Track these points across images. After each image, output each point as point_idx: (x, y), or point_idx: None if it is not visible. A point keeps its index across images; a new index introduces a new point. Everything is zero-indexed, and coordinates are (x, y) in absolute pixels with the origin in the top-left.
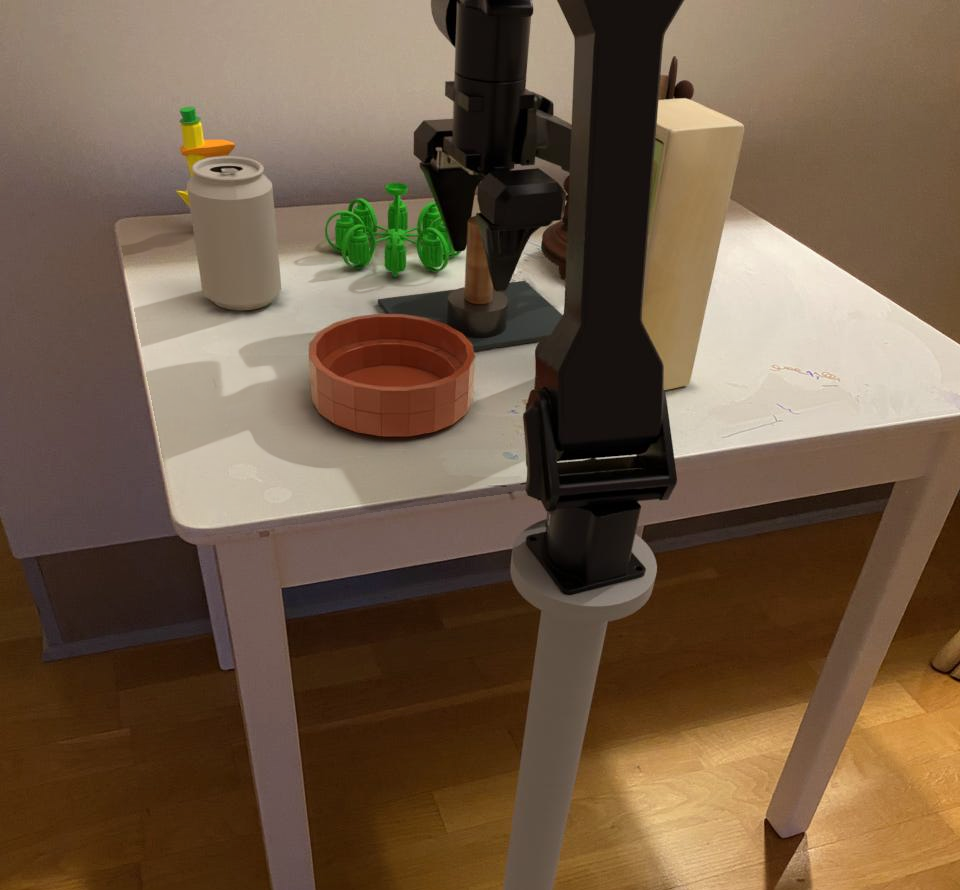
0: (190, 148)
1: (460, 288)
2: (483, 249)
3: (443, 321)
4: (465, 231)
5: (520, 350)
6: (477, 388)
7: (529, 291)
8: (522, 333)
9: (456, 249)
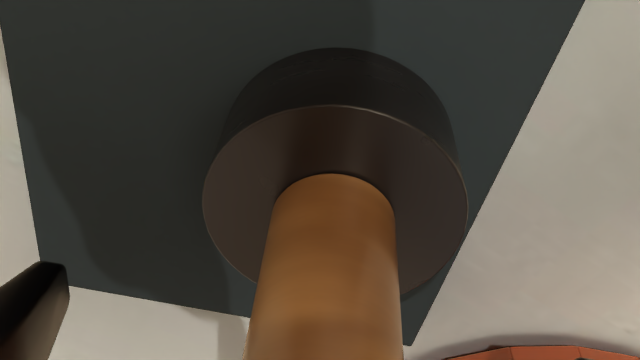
0: None
1: (210, 221)
2: None
3: None
4: (10, 355)
5: (566, 105)
6: (627, 317)
7: None
8: (506, 52)
9: (63, 304)
